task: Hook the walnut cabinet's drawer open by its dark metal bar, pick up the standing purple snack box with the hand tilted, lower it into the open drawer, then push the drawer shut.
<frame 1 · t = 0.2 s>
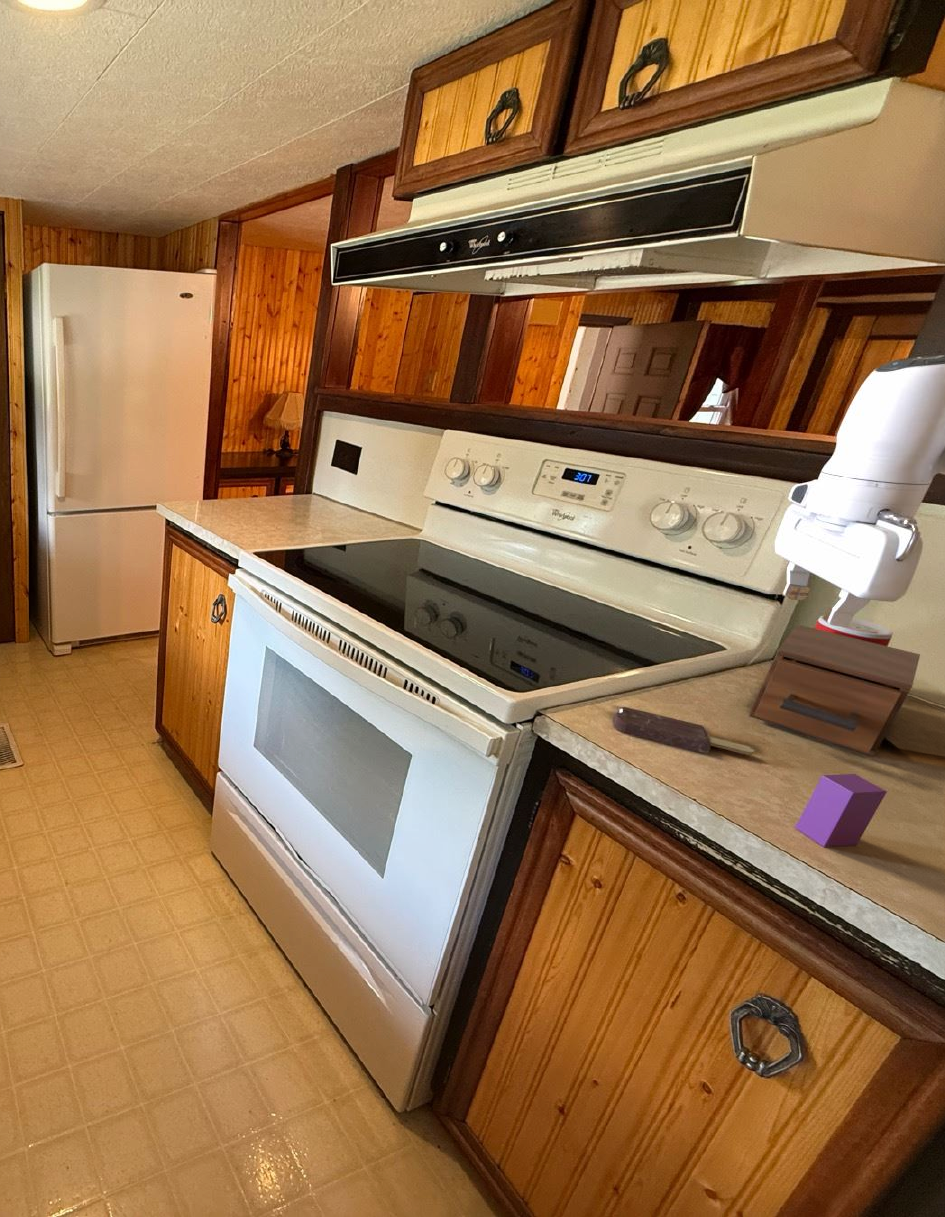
hand: (812, 610, 82), 19 cm above the worktop, tool pointing down, fingers open, 8 cm apart
snack box: (825, 836, 70), on the worktop
drawer: (828, 694, 90), point 5 cm above the worktop, slide at 0.5 cm
ice cream bar: (678, 740, 88), on the worktop
cabinet: (816, 717, 94), on the worktop
canned food: (823, 688, 104), on the worktop
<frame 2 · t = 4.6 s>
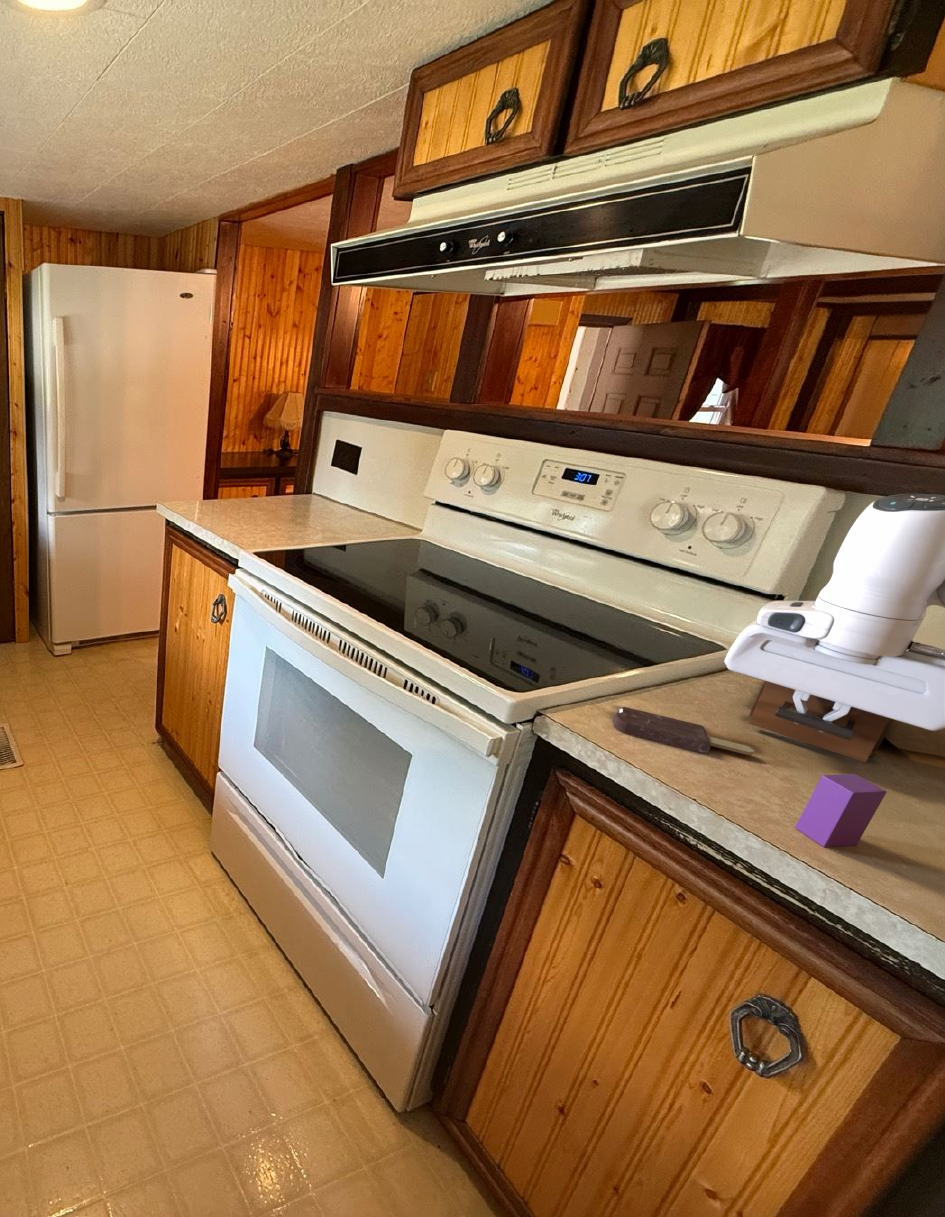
hand: (808, 726, 84), 4 cm above the worktop, tool pointing down, fingers closed, pressing on drawer
drawer: (824, 702, 88), point 5 cm above the worktop, slide at 4.0 cm, touching gripper
everything else where it was.
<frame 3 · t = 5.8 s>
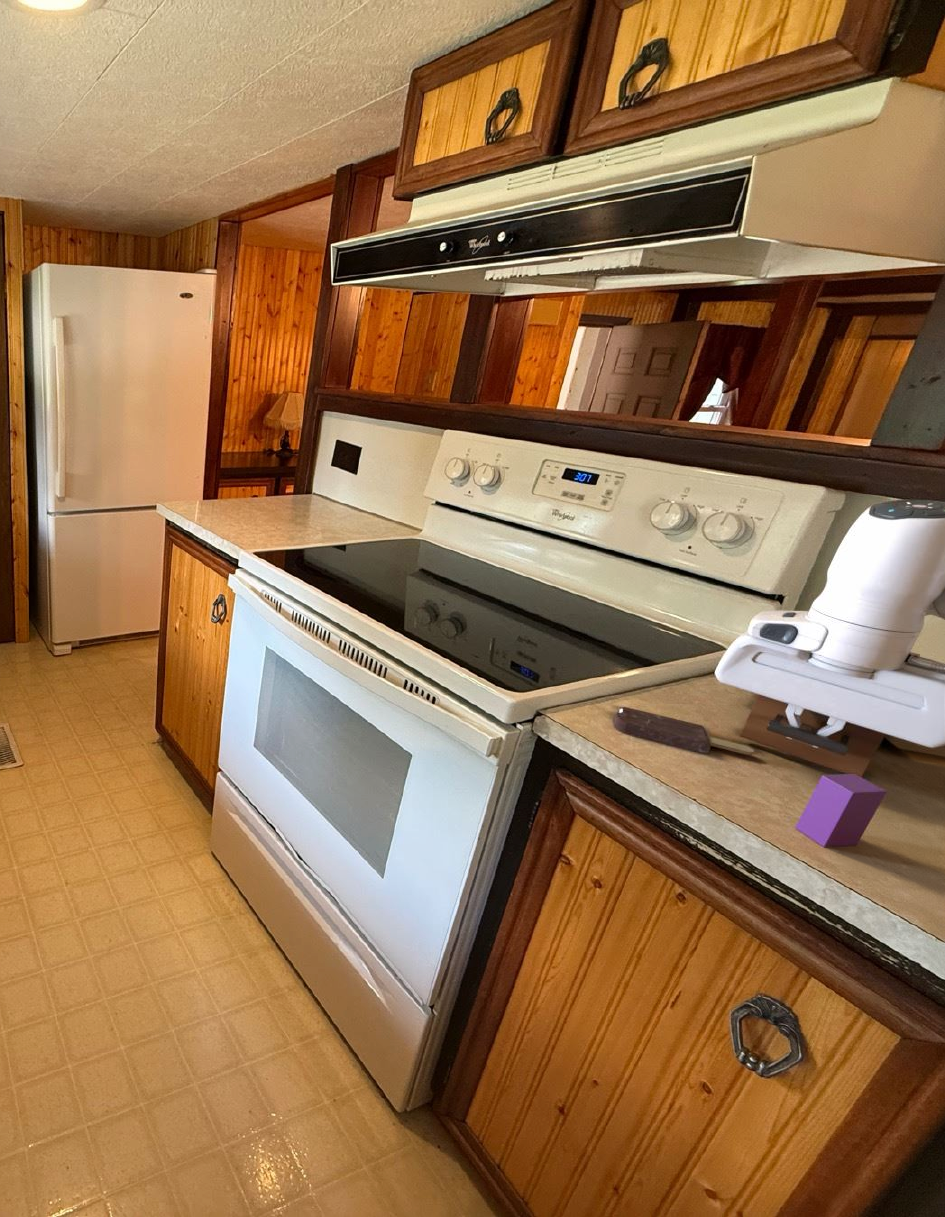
hand: (802, 741, 81), 4 cm above the worktop, tool pointing down, fingers closed
drawer: (817, 714, 84), point 5 cm above the worktop, slide at 9.5 cm, touching gripper
everything else where it was.
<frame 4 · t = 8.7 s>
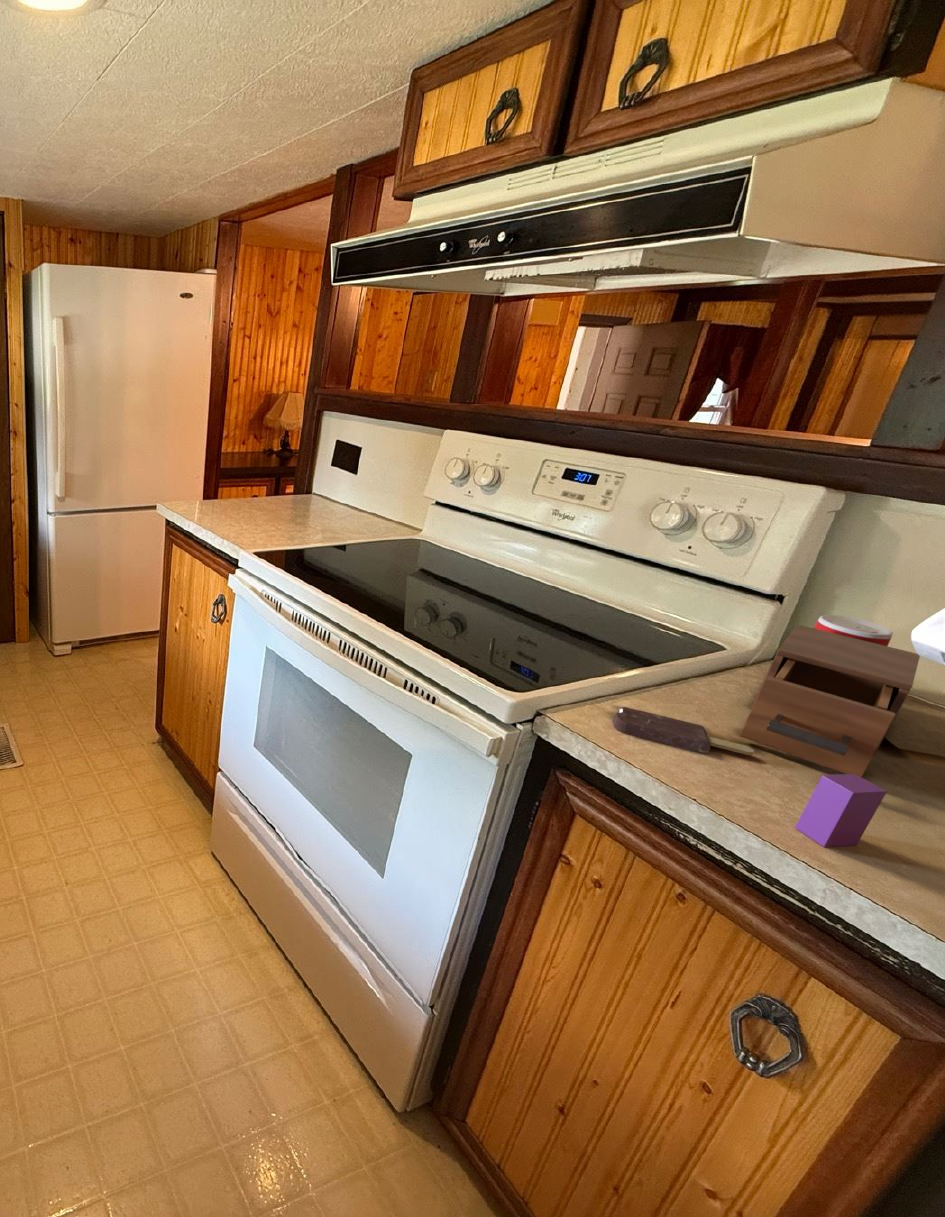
drawer: (817, 714, 84), point 5 cm above the worktop, slide at 9.5 cm
everything else where it was.
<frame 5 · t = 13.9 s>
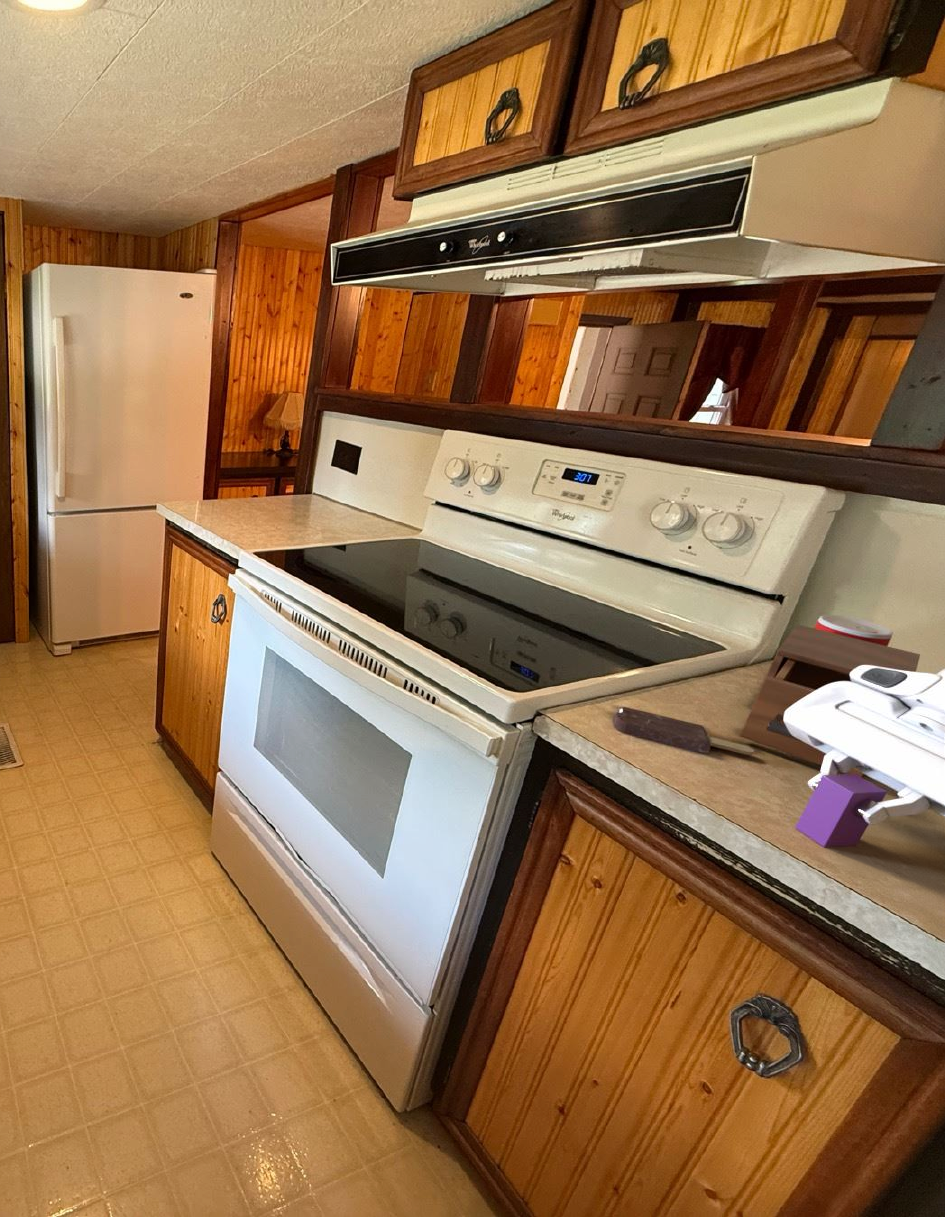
hand: (837, 803, 69), 4 cm above the worktop, tool tilted 45°, fingers closed on snack box, 3 cm apart
snack box: (825, 836, 70), on the worktop, touching gripper
everything else where it was.
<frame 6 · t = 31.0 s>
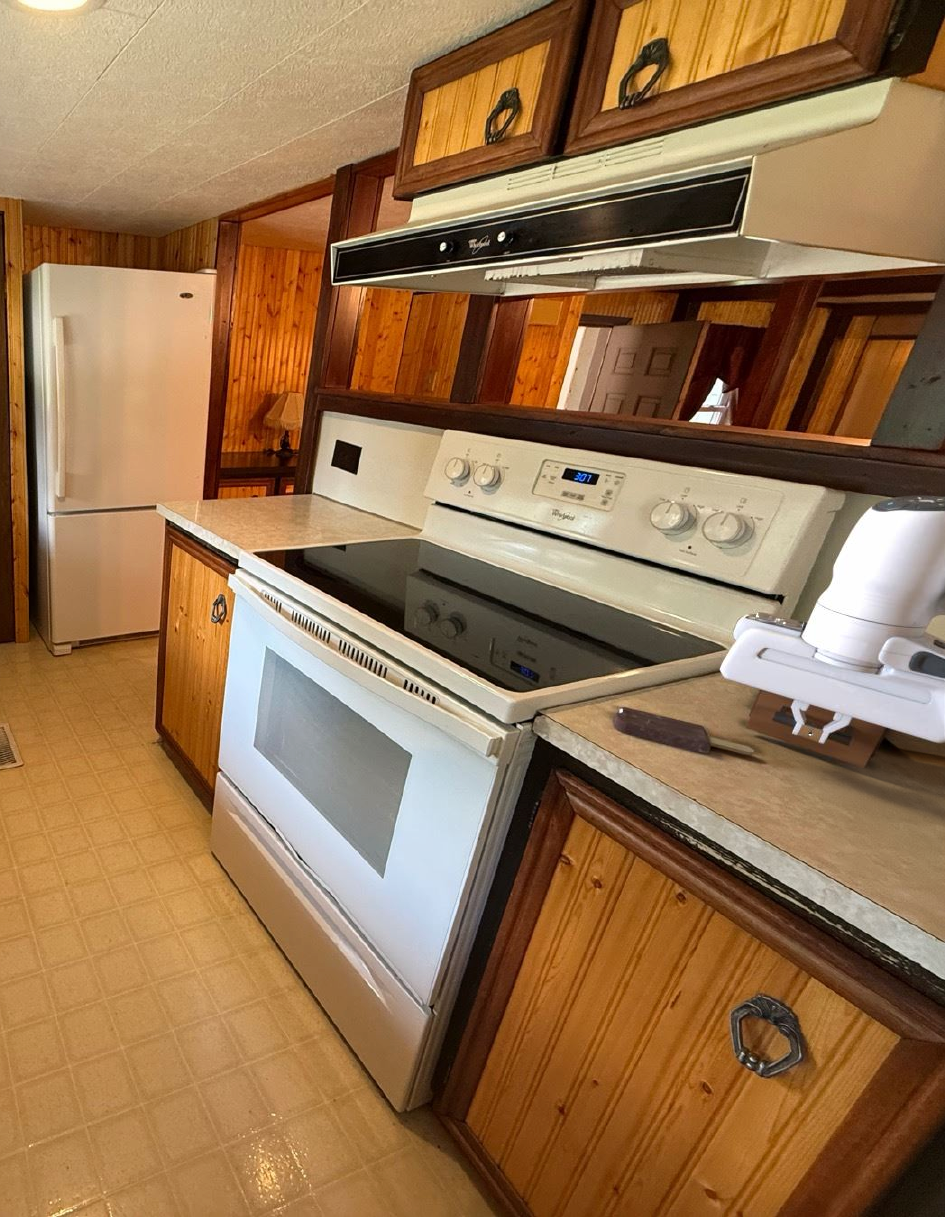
hand: (808, 737, 81), 5 cm above the worktop, tool pointing down, fingers closed, pressing on drawer
snack box: (837, 676, 87), point 9 cm above the worktop, tilted 142°, touching cabinet, drawer
drawer: (822, 706, 87), point 5 cm above the worktop, slide at 5.9 cm, touching gripper, snack box
everything else where it was.
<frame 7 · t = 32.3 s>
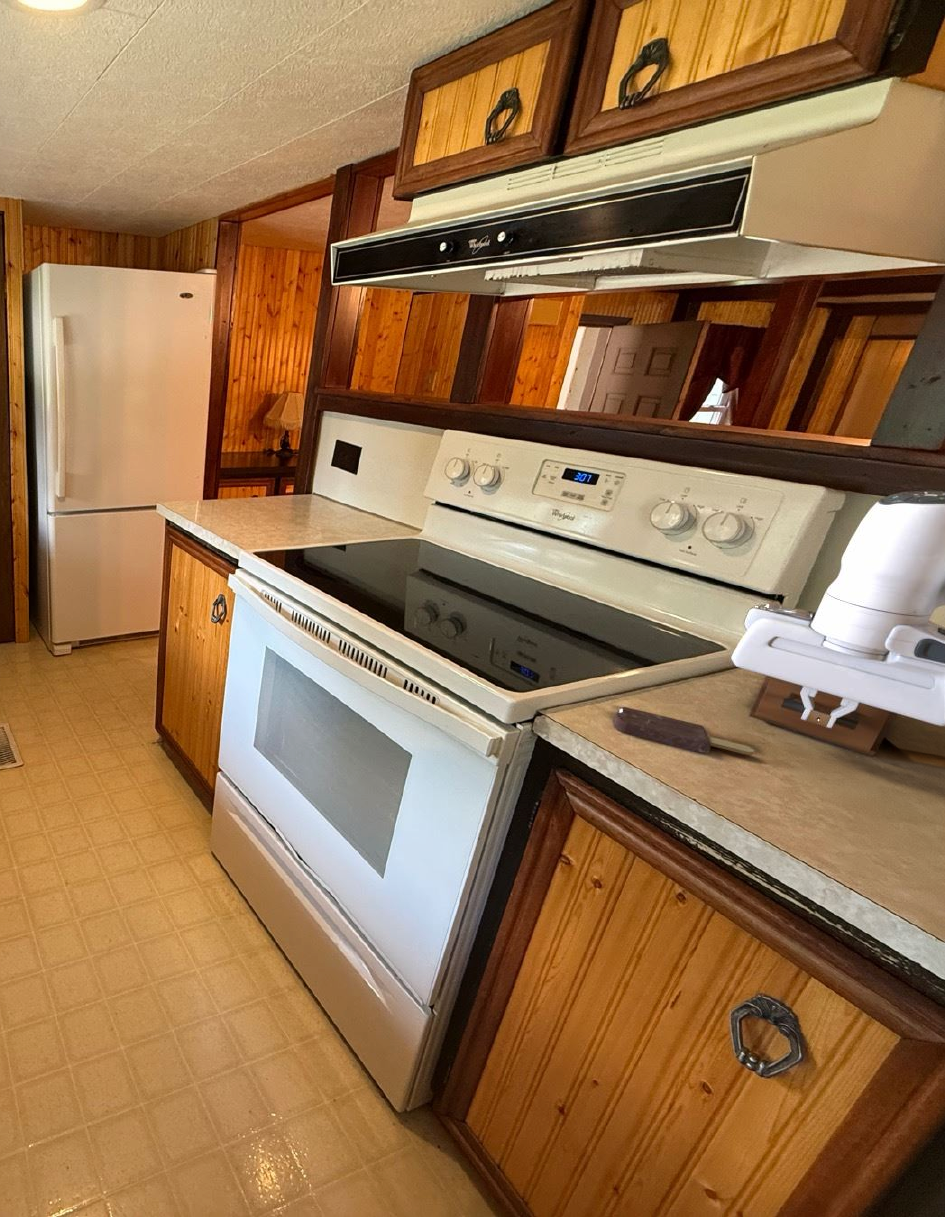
hand: (816, 722, 84), 5 cm above the worktop, tool pointing down, fingers closed, pressing on drawer
snack box: (838, 670, 88), point 9 cm above the worktop, tilted 180°, touching drawer
drawer: (828, 693, 90), point 5 cm above the worktop, slide at 0.0 cm, touching cabinet, gripper, snack box
everything else where it was.
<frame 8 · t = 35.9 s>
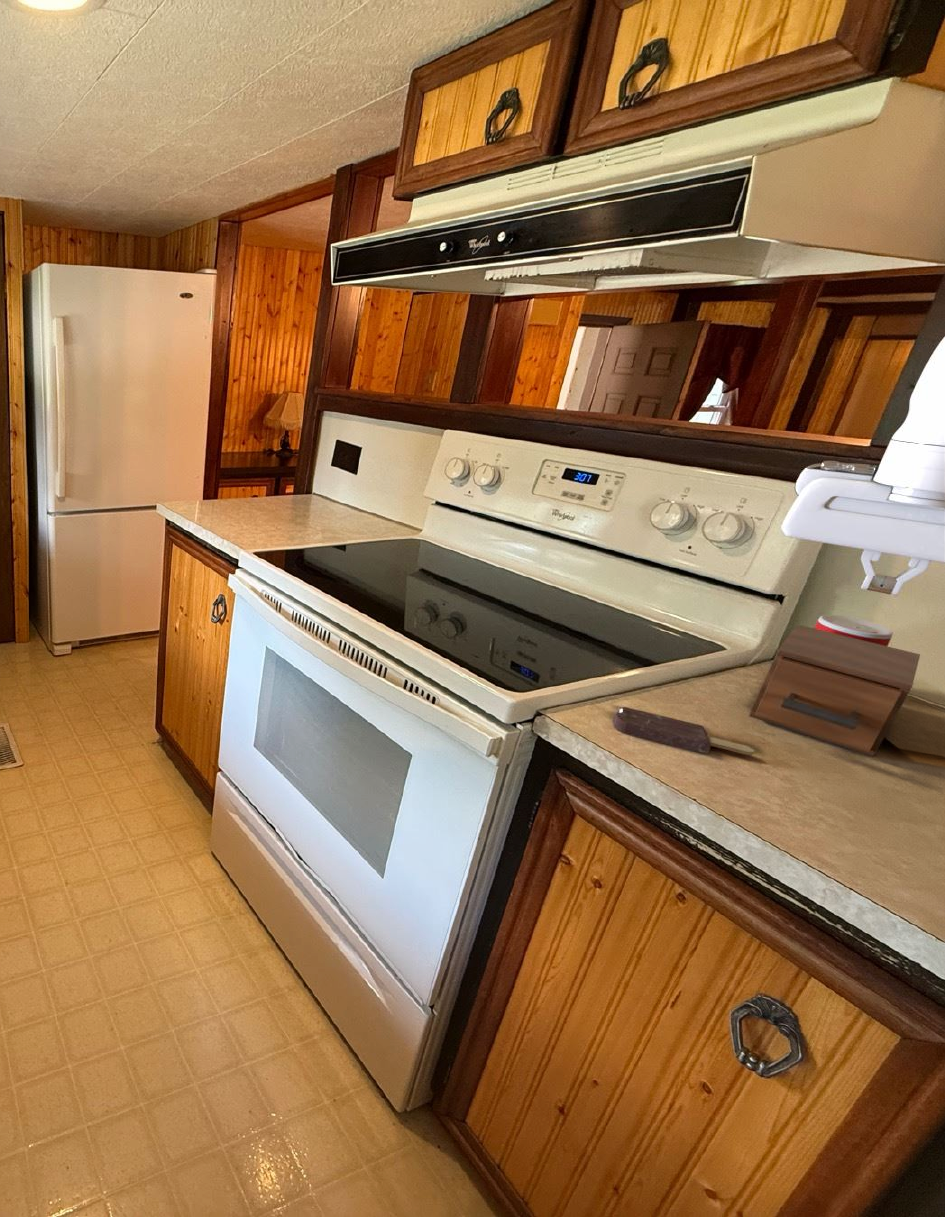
hand: (878, 591, 76), 23 cm above the worktop, tool pointing down, fingers closed
drawer: (828, 693, 90), point 5 cm above the worktop, slide at 0.0 cm, touching snack box
everything else where it was.
at the end: drawer pulled out 9.5 cm at the most during the clip, back to where it started at the end; snack box inside the target area in the cabinet (4.7 cm from its centre), point 9.0 cm above the cabinet's base; drawer slide at 0.0 cm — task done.
